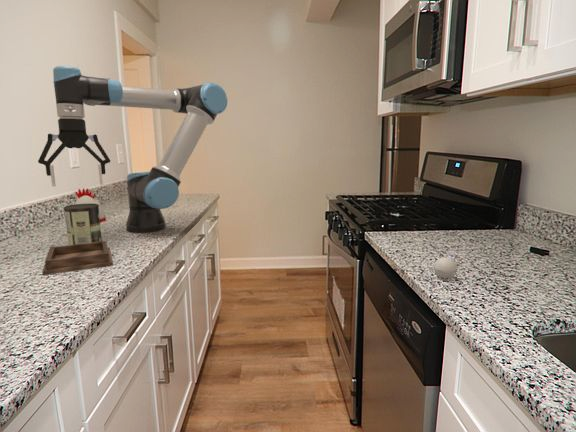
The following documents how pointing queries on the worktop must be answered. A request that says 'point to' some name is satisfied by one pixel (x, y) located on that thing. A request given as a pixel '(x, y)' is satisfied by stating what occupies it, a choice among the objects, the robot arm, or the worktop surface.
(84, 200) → the kitchen timer
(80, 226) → the coffee can
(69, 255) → the can holder
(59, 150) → the robot arm
